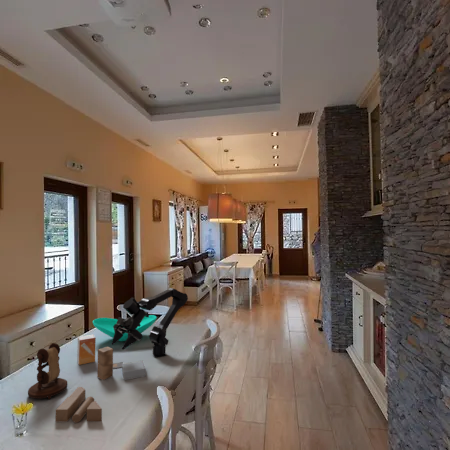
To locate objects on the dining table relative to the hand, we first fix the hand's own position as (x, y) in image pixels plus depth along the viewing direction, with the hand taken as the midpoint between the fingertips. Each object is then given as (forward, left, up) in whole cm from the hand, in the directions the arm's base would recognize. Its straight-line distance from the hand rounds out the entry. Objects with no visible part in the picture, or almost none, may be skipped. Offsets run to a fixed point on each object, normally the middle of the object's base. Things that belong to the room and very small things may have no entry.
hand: (116, 346), depth 150 cm
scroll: (+28, +9, -13) cm, 32 cm away
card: (0, -7, -12) cm, 14 cm away
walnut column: (+5, +3, -12) cm, 14 cm away
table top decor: (-8, -46, -12) cm, 48 cm away
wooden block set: (+12, +29, -13) cm, 34 cm away
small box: (+14, -19, -13) cm, 27 cm away
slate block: (-8, +5, -13) cm, 16 cm away
